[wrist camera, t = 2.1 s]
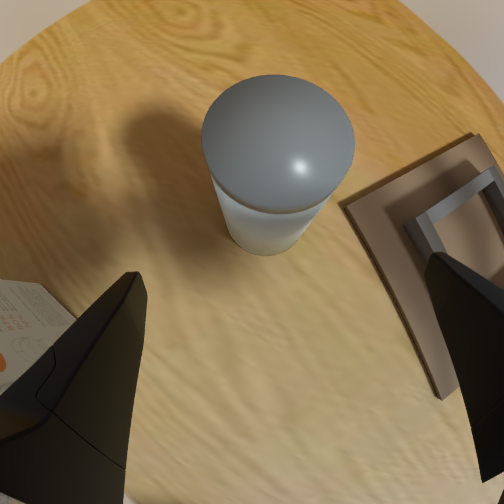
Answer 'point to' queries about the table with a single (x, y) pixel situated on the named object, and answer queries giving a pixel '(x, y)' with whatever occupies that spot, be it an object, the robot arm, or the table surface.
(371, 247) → the jig board
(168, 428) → the table surface
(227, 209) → the grey cylinder
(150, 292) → the table surface
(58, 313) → the small box
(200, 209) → the table surface
